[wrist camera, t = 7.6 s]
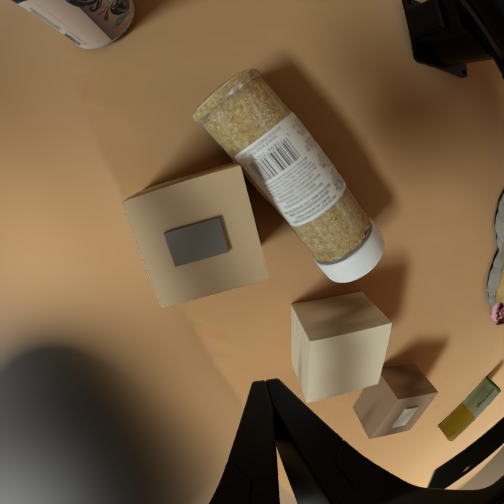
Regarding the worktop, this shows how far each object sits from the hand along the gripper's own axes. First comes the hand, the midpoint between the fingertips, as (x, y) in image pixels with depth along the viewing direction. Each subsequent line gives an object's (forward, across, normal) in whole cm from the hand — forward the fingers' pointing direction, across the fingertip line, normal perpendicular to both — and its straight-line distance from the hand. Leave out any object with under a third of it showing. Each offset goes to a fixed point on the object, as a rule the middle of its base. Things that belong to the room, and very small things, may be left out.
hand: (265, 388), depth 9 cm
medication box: (+12, -36, +30) cm, 48 cm away
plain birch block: (+12, -7, +7) cm, 16 cm away
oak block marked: (+12, +2, -3) cm, 13 cm away
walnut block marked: (+12, -15, +17) cm, 26 cm away
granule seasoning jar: (+10, 0, -11) cm, 15 cm away
